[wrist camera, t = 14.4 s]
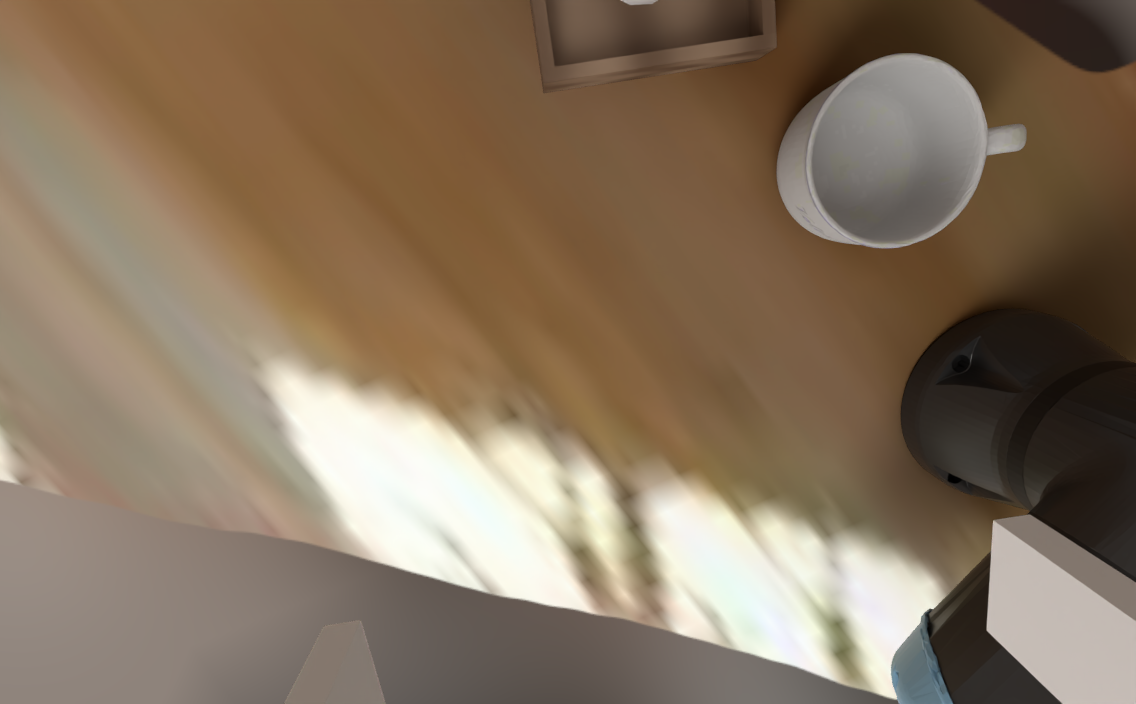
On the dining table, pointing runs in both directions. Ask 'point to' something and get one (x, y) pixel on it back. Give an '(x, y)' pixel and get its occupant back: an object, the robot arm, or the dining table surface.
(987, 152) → the teacup
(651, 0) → the foam cup
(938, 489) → the dining table surface
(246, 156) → the dining table surface
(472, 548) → the dining table surface
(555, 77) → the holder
